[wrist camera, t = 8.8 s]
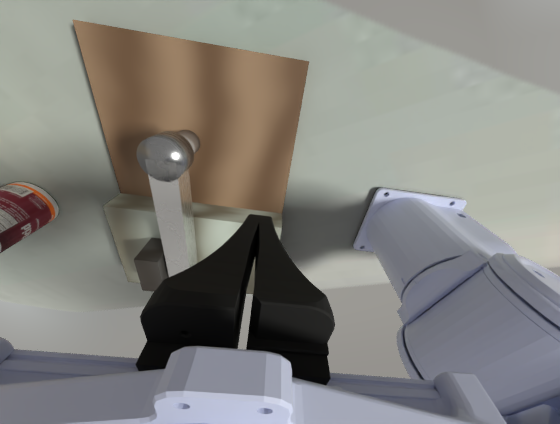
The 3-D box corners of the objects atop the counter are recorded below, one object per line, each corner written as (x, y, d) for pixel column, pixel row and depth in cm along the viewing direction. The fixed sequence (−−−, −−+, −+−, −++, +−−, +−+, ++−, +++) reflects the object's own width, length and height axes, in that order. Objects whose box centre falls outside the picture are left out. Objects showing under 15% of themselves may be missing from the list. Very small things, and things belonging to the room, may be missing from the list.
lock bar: (148, 128, 15) (131, 134, 13) (192, 133, 15) (181, 141, 13) (173, 265, 22) (164, 281, 20) (203, 268, 22) (196, 284, 21)
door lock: (307, 62, 16) (320, 54, 11) (270, 272, 28) (268, 320, 23) (84, 22, 15) (-30, -10, 10) (145, 259, 27) (110, 305, 22)
